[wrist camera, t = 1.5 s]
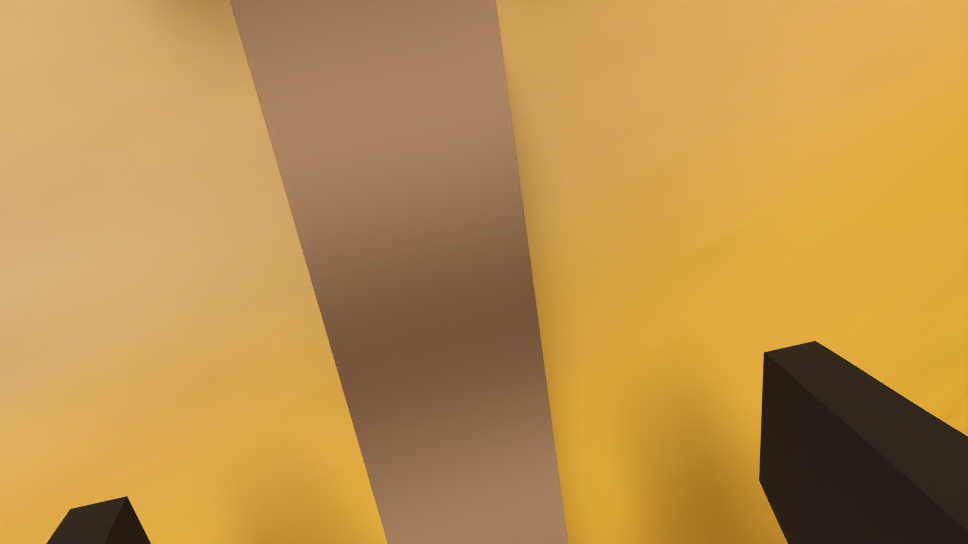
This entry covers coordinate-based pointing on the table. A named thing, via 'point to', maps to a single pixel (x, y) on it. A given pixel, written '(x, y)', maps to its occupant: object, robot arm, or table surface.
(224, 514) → the table surface
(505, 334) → the slat
